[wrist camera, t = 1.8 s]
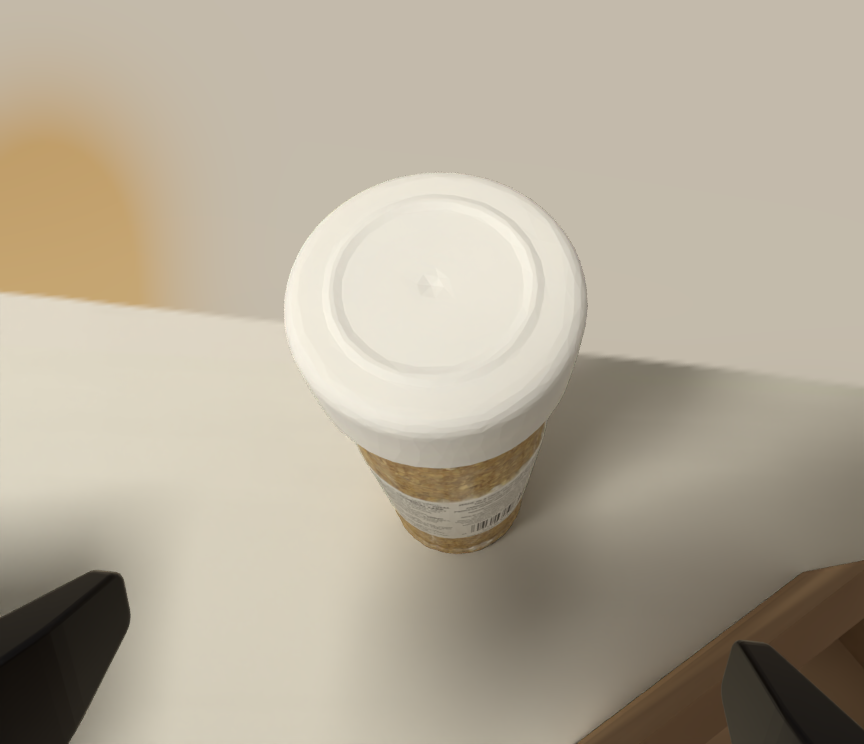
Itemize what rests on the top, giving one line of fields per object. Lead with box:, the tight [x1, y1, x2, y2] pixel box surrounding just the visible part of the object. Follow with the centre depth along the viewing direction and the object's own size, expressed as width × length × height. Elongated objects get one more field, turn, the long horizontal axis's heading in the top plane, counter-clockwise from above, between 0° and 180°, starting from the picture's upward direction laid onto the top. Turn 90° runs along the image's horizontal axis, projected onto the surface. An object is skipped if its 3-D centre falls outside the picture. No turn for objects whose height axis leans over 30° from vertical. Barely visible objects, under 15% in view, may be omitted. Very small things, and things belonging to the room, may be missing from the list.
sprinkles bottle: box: [284, 172, 588, 554], centre depth 15 cm, size 5×5×13 cm
